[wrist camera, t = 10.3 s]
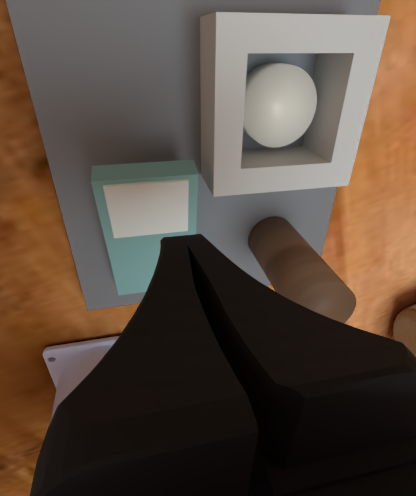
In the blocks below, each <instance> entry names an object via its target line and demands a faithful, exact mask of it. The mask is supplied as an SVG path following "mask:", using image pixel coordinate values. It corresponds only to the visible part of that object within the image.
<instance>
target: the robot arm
mask: <svg viewBox="0 0 416 496" xmlns="http://www.w3.org/2000/svg"><path fill="white" fill-rule="evenodd" d="M160 245H161V248H160V254H159V258H158V262H157V265H156V268H155V271H154V274H153V277H152V279H151V281H150V284H149V286H148V288H147V291H146V293H145V295H144V297H143V299H142V301H141V303H140V305H139V306H138V308H137V310H136V312H135V313H134V315H133V317H132V318H131V320H130V321H129V323H128V324H127V326H126V327H125V329H124V331H123V332H122V333H121V335H120V336H115V337H108V338H102V339H95V340H89V341H82V342H76V343H69V344H63V345H56V346H50V347H46V348H45V349H44V350H43V358H44V360H45V363H46V365H47V368H48V370H49V373H50V375H51V377H52V380H53V382H54V385H55V387H56V395H55V400H54V405H53V410H52V416H51V421H50V425H49V428H48V430H47V433H46V436H45V439H44V441H43V444H42V448H41V451H40V454H39V457H38V460H37V464H36V468H35V473H34V478H33V483H32V488H31V493H30V496H416V357H415V355H414V354H413V353H412V352H411V351H410V350H409V349H408V348H407V347H406V346H405V345H404V344H403V343H402V342H399V341H396V340H392V339H389V338H386V337H383V336H380V335H376V334H373V333H370V332H367V331H364V330H360V329H357V328H354V327H352V326H349V325H346V324H344V323H341V322H339V321H336V320H333V319H331V318H328V317H326V316H324V315H321V314H319V313H317V312H314V311H312V310H310V309H308V308H306V307H304V306H302V305H300V304H298V303H295V302H293V301H291V300H290V299H288V298H286V297H284V296H282V295H280V294H279V293H277V292H275V291H274V290H272V289H270V288H269V287H267V286H265V285H264V284H262V283H261V282H259V281H258V280H256V279H255V278H253V277H252V276H250V275H249V274H248V273H246V272H245V271H243V270H242V269H241V268H240V267H238V266H237V265H236V264H235V263H233V262H232V261H231V260H230V259H228V258H227V257H226V256H225V255H224V254H223V253H222V252H220V251H219V250H218V249H217V248H216V247H215V246H214V245H213V244H212V243H211V242H210V241H208V240H207V239H206V238H205V237H204V236H203V235H202V234H193V235H183V236H172V237H163V238H162V239H161V240H160ZM51 357H54V358H51Z"/></svg>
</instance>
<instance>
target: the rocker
mask: <svg viewBox="0 0 416 496" xmlns="http://www.w3.org/2000/svg"><path fill="white" fill-rule="evenodd" d="M91 184H92V189H93V193H94V197H95V201H96V205H97V209H98V213H99V217H100V221H101V225H102V230H103V234H104V238H105V242H106V246H107V250H108V254H109V258H110V262H111V266H112V270H113V275H114V279H115V283H116V287H117V291H118V295H126V294H134V293H141V292H146V291H147V288H148V286H149V284H150V281H151V279H152V277H153V274H154V271H155V268H156V265H157V262H158V258H159V254H160V248H161V245H160V240H161V239H162V238H163V237H172V236H183V235H193V234H196V222H197V197H198V171H197V168H196V165H195V162H194V160H178V161H162V162H146V163H129V164H113V165H97V166H92V171H91Z"/></svg>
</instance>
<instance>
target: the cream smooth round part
mask: <svg viewBox="0 0 416 496" xmlns="http://www.w3.org/2000/svg"><path fill="white" fill-rule="evenodd" d="M316 106H317V93H316V88H315V85H314V82H313V80H312V79H311V77H310V76H309V74H308V73H307V72H306V71H305V70H303V69H302V68H300V67H298V66H295V65H291V64H284V63H277V62H269V63H265V64H262V65H259V66H257V67H256V68H254V69H253V70H252V71H250V72H249V73H248V74H247V75H246V90H245V107H244V123H243V131H244V132H245V133H246V134H247V135H249V136H250V137H251V138H253V139H254V140H255V141H257V142H258V143H259V144H261V145H263V146H267V147H272V148H277V147H283V146H286V145H288V144H291V143H292V142H294V141H296V140H297V139H298V138H299V137H301V136H302V135H303V133H304V132H305V131H306V130H307V129H308V127H309V125H310V124H311V122H312V120H313V117H314V114H315V111H316Z"/></svg>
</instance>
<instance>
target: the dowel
mask: <svg viewBox="0 0 416 496" xmlns="http://www.w3.org/2000/svg"><path fill="white" fill-rule="evenodd" d="M248 245H249V248H250V250H251V251H252V253H253V255H254V256H255V258H256V260H257V261H258V263H259V265H260V266H261V268H262V270H263V271H264V273H265V275H266V276H267V278H268V280H269V281H270V283H271V285H272V286H273V288H274V290H275V291H276V292H277V293H279V294H280V295H282V296H284V297H286V298H288V299H290V300H291V301H293V302H295V303H298V304H300V305H302V306H304V307H306V308H308V309H310V310H312V311H314V312H317V313H319V314H321V315H324V316H326V317H328V318H331V319H333V320H336V321H339V322H341V323H345V322H346V321H347V320H348V319H349V318H350V316H351V315H352V313H353V311H354V309H355V306H356V297H355V295H354V293H353V292H352V291H351V290H350V289H349V288H348V287H347V286H346V284H345V283H344V282H343V281H342V280H341V279H340V278H339V277H338V276H337V274H336V273H335V272H334V271H333V270H332V269H331V268H330V267H329V266H328V265H327V263H326V262H325V261H324V260H323V259H322V258H321V257H320V256H319V255H318V254H317V252H316V251H315V250H314V249H313V248H312V247H311V246H310V245H309V244H308V243H307V241H306V240H305V239H304V238H303V237H302V236H301V235H300V234H299V233H298V231H297V230H296V229H295V228H294V227H293V226H292V225H291V224H290V223H289V222H288V221H287V220H286V219H285V218H282V217H278V216H272V217H268V218H265V219H263V220H261V221H260V222H258V223H257V224H256V225H255V226H254V227H253V228H252V230H251V232H250V234H249V237H248Z"/></svg>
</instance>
